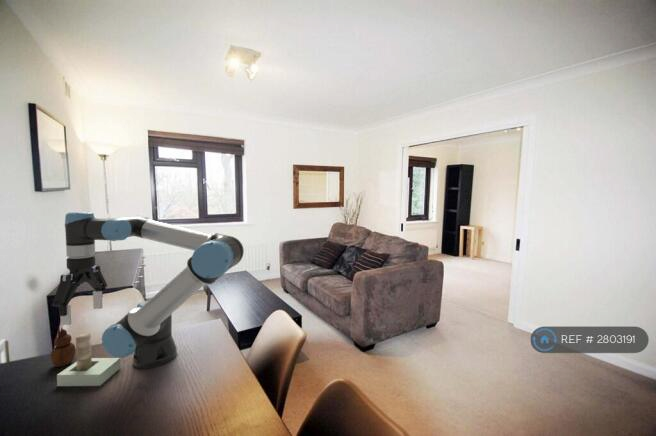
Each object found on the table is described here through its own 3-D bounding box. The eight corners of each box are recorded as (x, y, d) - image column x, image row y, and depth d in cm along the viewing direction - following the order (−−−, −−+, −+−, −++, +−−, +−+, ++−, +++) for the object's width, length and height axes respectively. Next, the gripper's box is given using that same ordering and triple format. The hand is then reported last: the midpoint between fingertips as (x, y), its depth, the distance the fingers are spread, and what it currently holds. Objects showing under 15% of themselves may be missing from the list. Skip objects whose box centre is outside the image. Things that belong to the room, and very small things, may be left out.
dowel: (94, 373, 102) (93, 333, 101) (85, 380, 98) (84, 339, 97) (83, 373, 102) (82, 333, 101) (74, 380, 98) (72, 339, 97)
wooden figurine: (59, 370, 103) (58, 331, 102) (47, 368, 104) (45, 329, 103) (79, 360, 110) (78, 323, 109) (67, 358, 111) (66, 321, 110)
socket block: (120, 368, 105) (120, 357, 105) (100, 385, 95) (99, 374, 95) (81, 368, 104) (81, 358, 104) (57, 386, 94) (56, 374, 94)
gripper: (97, 249, 109) (99, 302, 111) (33, 264, 84) (36, 332, 86) (117, 250, 110) (118, 302, 111) (59, 264, 85) (62, 332, 86)
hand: (83, 315), depth 98 cm, fingers open, 13 cm apart
